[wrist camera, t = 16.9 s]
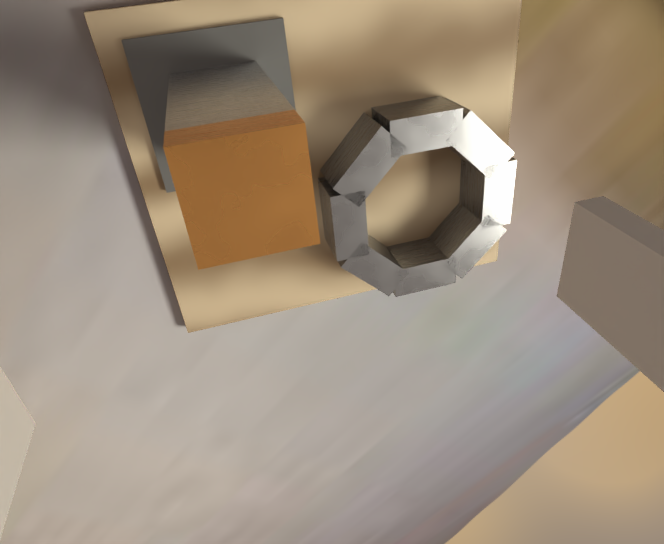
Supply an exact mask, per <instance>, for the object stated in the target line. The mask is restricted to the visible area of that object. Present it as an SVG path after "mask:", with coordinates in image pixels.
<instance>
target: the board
mask: <svg viewBox="0 0 664 544" xmlns="http://www.w3.org/2000/svg"><path fill="white" fill-rule="evenodd" d="M521 4H522V0H174V1H166V2H158V3H150V4H142V5H134V6H126V7H119V8H111V9H103V10H95V11H87V12H84V15H85V18H86V22H87V25H88V28H89V31H90V34H91V37H92V40H93V43H94V46H95V49H96V52H97V55H98V58H99V61H100V64H101V67H102V70H103V74H104V77H105V80H106V83H107V86H108V89H109V92H110V95H111V98H112V101H113V104H114V107H115V110H116V113H117V116H118V119H119V123H120V126H121V129H122V132H123V135H124V138H125V141H126V144H127V147H128V150H129V153H130V156H131V159H132V162H133V165H134V168H135V171H136V175H137V178H138V181H139V184H140V187H141V190H142V193H143V196H144V199H145V202H146V205H147V208H148V211H149V214H150V217H151V220H152V224H153V227H154V230H155V233H156V236H157V239H158V242H159V245H160V248H161V251H162V254H163V257H164V260H165V263H166V266H167V269H168V273H169V276H170V279H171V282H172V285H173V288H174V291H175V294H176V297H177V300H178V303H179V306H180V309H181V312H182V315H183V318H184V321H185V325H186V328H187V331H188V333H190V332H194V331H198V330H203V329H207V328H211V327H215V326H220V325H224V324H228V323H233V322H237V321H241V320H245V319H250V318H254V317H258V316H263V315H267V314H271V313H275V312H280V311H284V310H288V309H293V308H297V307H301V306H305V305H310V304H314V303H318V302H323V301H327V300H331V299H335V298H340V297H344V296H348V295H352V294H357V293H361V292H365V291H370V290H374V289H376V288H375V287H373V286H371V285H370V284H368V283H366V282H365V281H363V280H361V279H360V278H358V277H356V276H355V275H353V274H351V273H350V272H348V271H346V270H344V269H343V268H341V267H340V265H339V263H338V261H337V260H336V258H335V257H334V255H333V253H332V251H331V249H330V247H329V245H328V244H327V242H326V240H325V236H324V227H323V219H322V211H321V202H320V194H319V186H318V178H320V177H324V175H323V174H322V172H321V171H320V169H321V168H322V167H323V165H324V164H325V163H326V161H327V160H328V159H329V157H330V156H331V155H332V153H333V152H334V151H335V149H336V148H337V147H338V145H339V144H340V143H341V142H342V140H343V139H344V138H345V136H346V135H347V134H348V132H349V131H350V130H351V128H352V127H353V126H354V124H355V123H356V122H357V120H358V119H359V118H360V117H361V115H362V114H363V113H366V114H367V115H368V116H369V117H371V118H372V109H371V107H376V106H382V105H388V104H394V103H400V102H405V101H411V100H417V99H423V98H429V97H435V96H440V97H442V98H444V99H446V98H448V99H450V100H452V101H454V102H456V103H458V104H460V105H462V106H464V107H466V108H468V109H470V110H471V111H472V112H473V113H474V114H475V115H476V116H477V117H478V118H479V119H480V120H481V121H483V122H484V123H485V124H486V125H487V126H488V127H489V128H490V129H491V130H492V131H493V132H494V133H495V134H496V135H497V136H498V137H499V138H500V139H501V140H502V141H503V142H504V143H505V144H506V145H507V146H508V140H509V129H510V119H511V109H512V98H513V88H514V77H515V67H516V56H517V46H518V35H519V25H520V15H521ZM276 18H283V19H284V27H285V34H286V42H287V49H288V57H289V64H290V71H291V79H292V86H293V94H294V101H295V109H296V112H297V113H298V114H299V116H300V117H301V118H302V119H303V121H304V122H305V125H306V133H307V141H308V149H309V157H310V165H311V172H312V180H313V188H314V196H315V204H316V212H317V220H318V228H319V236H320V244H317V245H312V246H307V247H303V248H298V249H293V250H289V251H284V252H279V253H275V254H270V255H265V256H261V257H256V258H251V259H247V260H242V261H237V262H233V263H228V264H223V265H219V266H214V267H209V268H205V269H200V270H198V267H197V263H196V260H195V257H194V253H193V250H192V246H191V243H190V239H189V236H188V232H187V229H186V225H185V222H184V218H183V215H182V211H181V208H180V204H179V201H178V197H177V194H176V191H174V192H169V193H167V192H166V189H165V185H164V182H163V179H162V175H161V172H160V168H159V165H158V162H157V158H156V155H155V152H154V148H153V145H152V142H151V138H150V135H149V132H148V128H147V125H146V122H145V118H144V115H143V111H142V108H141V105H140V101H139V98H138V95H137V91H136V88H135V85H134V81H133V78H132V75H131V71H130V68H129V65H128V61H127V58H126V54H125V51H124V48H123V44H122V41H121V40H123V39H130V38H137V37H145V36H152V35H159V34H166V33H174V32H181V31H188V30H196V29H203V28H210V27H218V26H225V25H232V24H239V23H247V22H254V21H261V20H269V19H276ZM460 174H461V158H460V157H459V156H457V155H456V154H455V153H454V152H453V151H452V150H451V149H450V148H448V147H444V148H439V149H434V150H428V151H423V152H418V153H413V154H407V155H402V156H400V157H399V158H398V160H397V161H396V162H395V163H394V165H393V166H392V167H391V168H390V170H389V171H388V172H387V173H386V175H385V176H384V177H383V178H382V180H381V181H380V182H379V183H378V185H377V186H376V187H375V188H374V189H373V191H372V192H371V193H370V194H369V196H368V197H367V198H366V199H365V201H366V216H367V232H368V234H369V235H370V236H372V237H373V238H375V239H376V240H378V241H379V242H381V243H382V244H384V245H385V246H392V245H396V244H401V243H405V242H410V241H414V240H419V239H423V238H428V237H430V235H431V234H432V233H433V232H434V231H435V230H436V229H437V227H438V226H439V225H440V224H441V223H442V222H443V221H444V219H445V218H446V217H447V216H448V215H449V214H450V212H451V211H452V210H453V209H454V208H455V207H456V206H457V204H458V203H459V196H460ZM498 244H499V239H498V240H497V241H496V242H495V244H494V245H493V246H492V247H491V248H490V249H489V250H488V251H487V252H486V253H485V254H484V256H483V257H482V258H481V259H480V260H479V261H478V262H477V263H476V264H475V265H474V266H477V265H481V264H485V263H490V262H494V261H497V255H498Z"/></svg>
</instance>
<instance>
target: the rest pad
mask: <svg viewBox="0 0 664 544" xmlns="http://www.w3.org/2000/svg"><path fill="white" fill-rule="evenodd" d="M121 41H122V44H123V48H124V51H125V54H126V58H127V61H128V65H129V68H130V71H131V75H132V78H133V81H134V85H135V88H136V91H137V95H138V98H139V101H140V105H141V108H142V111H143V115H144V118H145V122H146V125H147V128H148V132H149V135H150V138H151V142H152V145H153V148H154V152H155V155H156V158H157V162H158V165H159V168H160V172H161V175H162V179H163V182H164V185H165V189H166V192H167V193H169V192H174V191H176V190H175V187H174V183H173V180H172V176H171V173H170V170H169V166H168V163H167V159H166V156H165V152H164V149H163V143H164V131H165V119H166V108H167V96H168V84H169V74H171V73H178V72H184V71H191V70H198V69H204V68H211V67H218V66H224V65H231V64H238V63H244V62H251V61H256V62H257V63H258V64H259V66H260V67H261V68H262V69H263V71H264V72H265V73H266V74H267V76H268V77H269V78H270V79H271V81H272V82H273V83H274V84H275V86H276V87H277V88H278V89H279V91H280V92H281V93H282V94H283V96H284V97H285V98H286V99H287V101H288V102H289V103H290V104H291V106H292V107H293V108H294V109H295V101H294V94H293V86H292V79H291V71H290V64H289V57H288V49H287V42H286V34H285V27H284V19H283V18H276V19H269V20H261V21H254V22H247V23H239V24H232V25H225V26H218V27H210V28H203V29H196V30H188V31H181V32H174V33H166V34H159V35H152V36H145V37H137V38H130V39H123V40H121ZM295 111H296V109H295Z"/></svg>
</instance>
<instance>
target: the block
mask: <svg viewBox="0 0 664 544" xmlns="http://www.w3.org/2000/svg"><path fill="white" fill-rule="evenodd" d="M163 149H164V152H165V156H166V159H167V163H168V166H169V170H170V173H171V176H172V180H173V183H174V187H175V190H176V194H177V197H178V201H179V204H180V208H181V211H182V215H183V218H184V222H185V225H186V229H187V232H188V236H189V239H190V243H191V246H192V250H193V253H194V257H195V260H196V263H197V267H198V270H200V269H205V268H209V267H214V266H219V265H223V264H228V263H233V262H237V261H242V260H247V259H251V258H256V257H261V256H265V255H270V254H275V253H279V252H284V251H289V250H293V249H298V248H303V247H307V246H312V245H317V244H320V236H319V228H318V220H317V212H316V204H315V196H314V188H313V180H312V172H311V165H310V157H309V149H308V141H307V133H306V125H305V122H304V121H303V119H302V118H301V117H300V116H299V114H298V113H297V112H296V111H295V109H294V108H293V107H292V106H291V104H290V103H289V102H288V101H287V99H286V98H285V97H284V96H283V94H282V93H281V92H280V91H279V89H278V88H277V87H276V86H275V84H274V83H273V82H272V81H271V79H270V78H269V77H268V76H267V74H266V73H265V72H264V71H263V69H262V68H261V67H260V66H259V64H258V63H257V62H256V61H251V62H244V63H238V64H231V65H224V66H218V67H211V68H204V69H198V70H191V71H184V72H178V73H171V74H169V84H168V96H167V108H166V119H165V131H164V143H163Z"/></svg>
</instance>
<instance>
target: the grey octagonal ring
mask: <svg viewBox="0 0 664 544" xmlns="http://www.w3.org/2000/svg"><path fill="white" fill-rule="evenodd" d="M371 109H372V118H371V117H369V116H368V115H367V114H366V113H363V114H362V115H361V117H360V118H359V119H358V120H357V122H356V123H355V124H354V126H353V127H352V128H351V130H350V131H349V132H348V134H347V135H346V136H345V138H344V139H343V140H342V142H341V143H340V144H339V145H338V147H337V148H336V149H335V151H334V152H333V153H332V155H331V156H330V157H329V159H328V160H327V161H326V163H325V164H324V165H323V167H322V168H321V169H320V171H321V172H322V174H323V175H324V177H320V178H318V186H319V194H320V202H321V211H322V219H323V227H324V236H325V240H326V242H327V244H328V245H329V247H330V249H331V251H332V253H333V255H334V257H335V258H336V260H337V261H338V263H339V265H340V267H341V268H343V269H344V270H346V271H348V272H350V273H351V274H353V275H355V276H356V277H358V278H360V279H361V280H363V281H365V282H366V283H368V284H370V285H371V286H373V287H375V288H376V289H378V290H380V291H381V292H383V293H385V294H386V295H388V296H389V295H390V294H391V293H392V292H393V293H394V295H395V296H396V297H397V296H402V295H406V294H410V293H414V292H419V291H423V290H427V289H431V288H435V287H440V286H444V285H448V284H452V283H455V282H456V275H457V276H459V277H460V278H463V277H464V276H465V275H466V274H467V273H468V272H469V271H470V270H471V269H472V267H473V266H474V265H475V264H476V263H477V262H478V261H479V260H480V259H481V258H482V257H483V256H484V254H485V253H486V252H487V251H488V250H489V249H490V248H491V247H492V246H493V245H494V244H495V242H496V241H497V240H498V239H499V238H500V237H501V236H502V235H503V234H504V233H505V232H506V231H507V230H506V229H505V228H503V227H502V226H501V225H504V224H509V223H510V220H511V211H512V202H513V193H514V183H515V174H516V165H517V160H516V159H514V158H512V156H513V155H514V152H513V151H512V150H511V149H510V148H509V147H508V146H507V145H506V144H505V143H504V142H503V141H502V140H501V139H500V138H499V137H498V136H497V135H496V134H495V133H494V132H493V131H492V130H491V129H490V128H489V127H488V126H487V125H486V124H485V123H484V122H483V121H481V120H480V119H479V118H478V117H477V116H476V115H475V114H474V113H473V112H472V111H471V110H470V109H468V108H466V107H464V106H462V105H460V104H458V103H456V102H454V101H452V100H450V99H448V98H446V99H444V98H442V97H440V96H435V97H429V98H423V99H417V100H411V101H405V102H400V103H394V104H388V105H382V106H376V107H371ZM444 147H448V148H450V149H451V150H452V151H453V152H454V153H455V154H456V155H457V156H459V157H460V158H461V174H460V196H459V203H458V204H457V206H456V207H455V208H454V209H453V210H452V211H451V212H450V214H449V215H448V216H447V217H446V218H445V219H444V221H443V222H442V223H441V224H440V225H439V226H438V227H437V229H436V230H435V231H434V232H433V233H432V234H431V235H430V237H428V238H423V239H419V240H414V241H410V242H405V243H401V244H396V245H392V246H385V245H384V244H382V243H381V242H379V241H378V240H376V239H375V238H373V237H372V236H370V235H369V234H368V232H367V216H366V201H365V199H366V198H367V197H368V196H369V194H370V193H371V192H372V191H373V189H374V188H375V187H376V186H377V185H378V183H379V182H380V181H381V180H382V178H383V177H384V176H385V175H386V173H387V172H388V171H389V170H390V168H391V167H392V166H393V165H394V163H395V162H396V161H397V160H398V158H399V157H400V156H402V155H407V154H413V153H418V152H423V151H428V150H434V149H439V148H444Z"/></svg>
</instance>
